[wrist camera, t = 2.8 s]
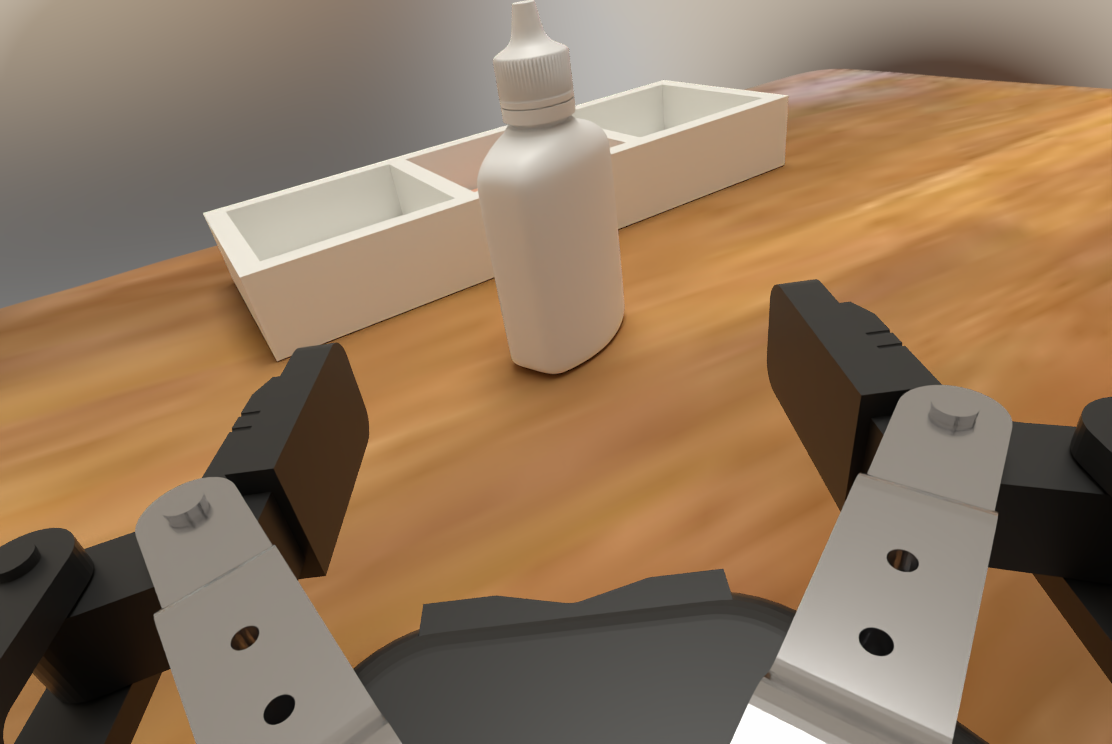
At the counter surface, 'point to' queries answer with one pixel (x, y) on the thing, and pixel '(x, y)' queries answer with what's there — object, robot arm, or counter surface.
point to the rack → (468, 210)
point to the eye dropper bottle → (549, 209)
